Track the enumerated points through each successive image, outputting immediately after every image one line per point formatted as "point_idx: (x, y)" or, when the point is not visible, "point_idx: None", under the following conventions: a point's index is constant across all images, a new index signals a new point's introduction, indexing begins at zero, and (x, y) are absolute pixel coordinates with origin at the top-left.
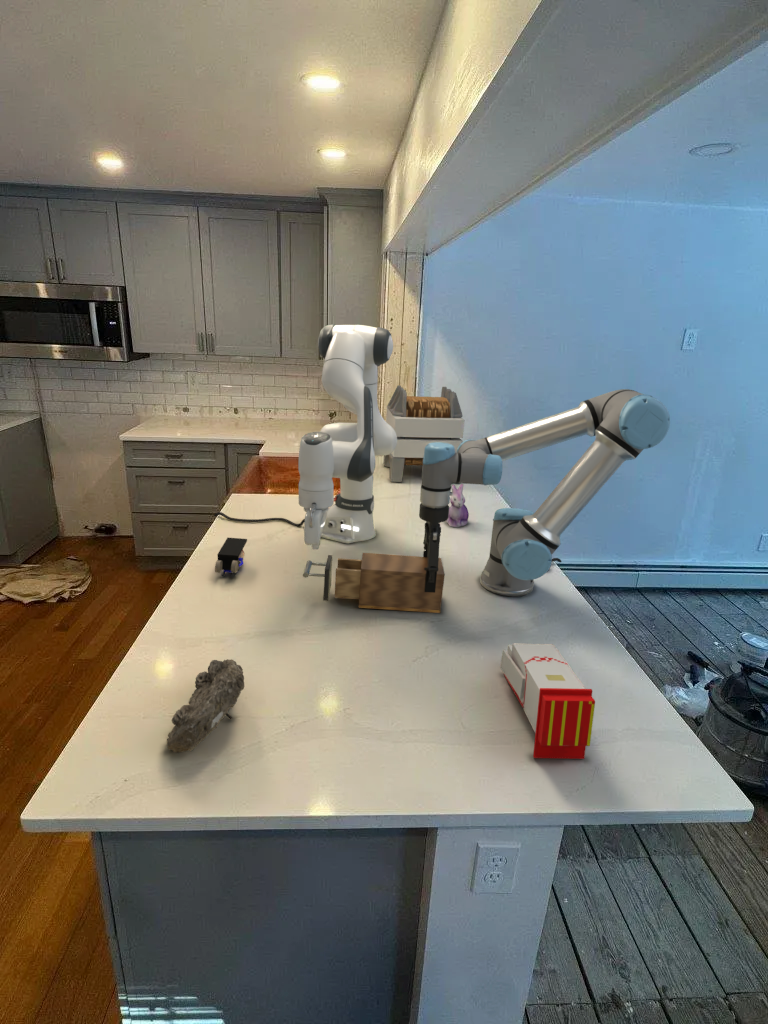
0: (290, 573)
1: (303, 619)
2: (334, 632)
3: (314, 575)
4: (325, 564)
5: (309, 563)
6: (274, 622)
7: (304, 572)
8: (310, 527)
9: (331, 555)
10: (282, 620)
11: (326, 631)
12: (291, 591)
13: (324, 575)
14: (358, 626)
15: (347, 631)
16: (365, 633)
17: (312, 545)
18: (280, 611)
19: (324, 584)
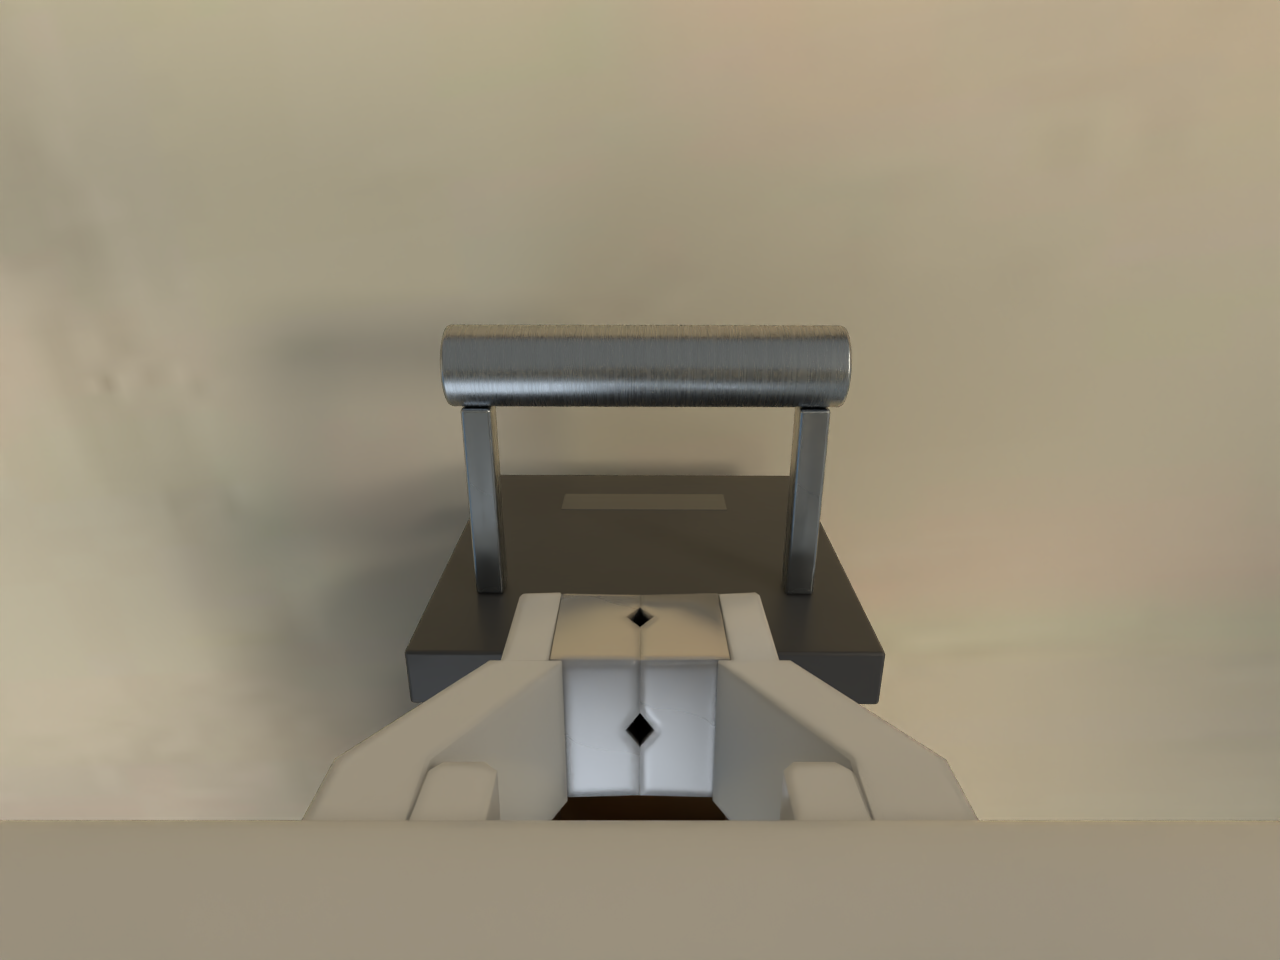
0: (1189, 38)
1: (272, 315)
2: (149, 564)
3: (469, 473)
4: (787, 572)
5: (739, 388)
6: (157, 54)
7: (444, 355)
8: (929, 821)
9: (859, 695)
10: (211, 127)
11: (145, 510)
12: (768, 121)
13: (430, 602)
14: (271, 707)
15: (187, 645)
16: (195, 748)
17: (513, 637)
18: (363, 76)
19: (454, 551)
